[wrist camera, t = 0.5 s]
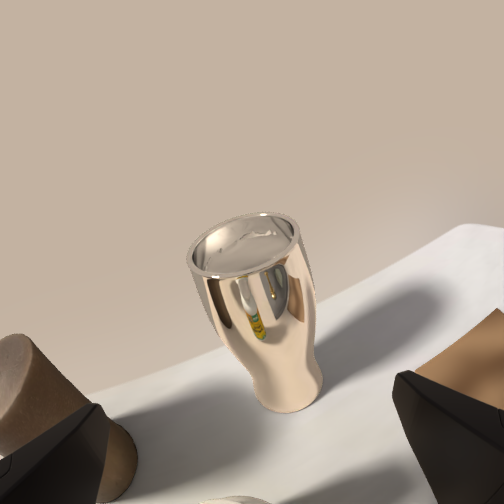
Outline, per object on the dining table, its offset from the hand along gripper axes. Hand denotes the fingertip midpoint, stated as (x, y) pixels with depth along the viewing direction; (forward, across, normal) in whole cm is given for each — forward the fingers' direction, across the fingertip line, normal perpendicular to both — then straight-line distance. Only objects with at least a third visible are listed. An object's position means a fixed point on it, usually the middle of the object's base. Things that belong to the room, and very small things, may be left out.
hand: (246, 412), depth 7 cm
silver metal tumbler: (+15, -3, +12) cm, 19 cm away
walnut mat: (+7, -20, +11) cm, 24 cm away
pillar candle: (+9, +16, +16) cm, 25 cm away
